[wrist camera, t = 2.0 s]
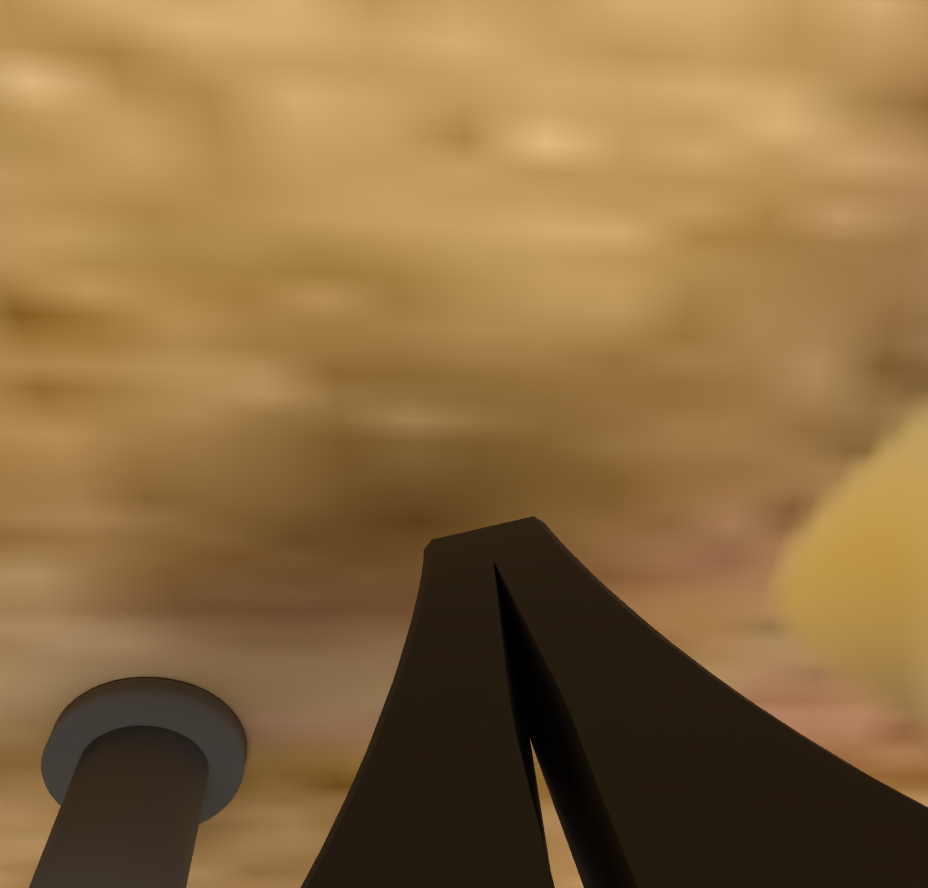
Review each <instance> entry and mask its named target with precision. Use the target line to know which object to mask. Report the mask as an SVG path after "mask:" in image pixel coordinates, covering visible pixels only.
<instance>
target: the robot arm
mask: <svg viewBox="0 0 928 888" xmlns="http://www.w3.org/2000/svg"><path fill="white" fill-rule="evenodd" d="M530 740H531V743H532V745H533V748H534V751H535V754H536V756H537V759H538V762H539V765H540V768H541V770H542V773H543V776H544V779H545V781H546V784H547V787H548V790H549V792H550V795H551V798H552V801H553V804H554V806H555V809H556V812H557V815H558V817H559V820H560V823H561V826H562V828H563V831H564V834H565V837H566V839H567V842H568V845H569V848H570V850H571V853H572V856H573V859H574V861H575V864H576V867H577V870H578V872H579V875H580V878H581V881H582V883H583V886H584V888H928V807H926V806H924V805H922V804H921V803H919V802H917V801H915V800H913V799H911V798H909V797H908V796H906V795H904V794H902V793H900V792H898V791H897V790H895V789H893V788H891V787H889V786H887V785H885V784H884V783H882V782H880V781H878V780H876V779H874V778H872V777H871V776H869V775H867V774H866V773H864V772H862V771H860V770H859V769H857V768H856V767H854V766H852V765H851V764H849V763H847V762H846V761H844V760H842V759H841V758H839V757H837V756H836V755H834V754H832V753H831V752H829V751H828V750H826V749H824V748H823V747H821V746H819V745H818V744H816V743H814V742H813V741H811V740H809V739H808V738H806V737H805V736H803V735H801V734H800V733H798V732H797V731H795V730H794V729H792V728H791V727H789V726H788V725H786V724H784V723H783V722H781V721H780V720H778V719H777V718H775V717H774V716H772V715H771V714H769V713H768V712H766V711H765V710H763V709H762V708H760V707H758V706H757V705H755V704H754V703H753V702H751V701H750V700H748V699H747V698H745V697H744V696H742V695H741V694H740V693H738V692H737V691H735V690H734V689H732V688H731V687H730V686H728V685H727V684H726V683H724V682H723V681H721V680H720V679H719V678H717V677H716V676H714V675H713V674H712V673H710V672H709V671H708V670H706V669H705V668H704V667H702V666H701V665H700V664H699V663H697V662H696V661H695V660H693V659H692V658H691V657H689V656H688V655H687V654H685V653H684V652H683V651H682V650H680V649H679V648H678V647H676V646H675V645H674V644H672V643H671V642H670V641H669V640H668V639H666V638H665V637H664V636H663V635H661V634H660V633H659V632H658V631H656V630H655V629H654V628H653V627H652V626H650V625H649V624H648V623H647V622H646V621H644V620H643V619H642V618H641V617H640V616H639V615H638V614H636V613H635V612H634V611H633V610H632V609H631V608H630V607H628V606H627V605H626V604H625V603H624V602H623V601H621V600H620V599H619V598H618V597H617V596H616V595H615V594H613V593H612V592H611V591H610V590H609V589H608V588H607V587H606V586H605V585H604V584H603V583H601V582H600V581H599V580H598V579H597V578H596V577H595V576H594V575H593V574H592V573H591V572H590V571H589V570H588V569H587V568H586V567H585V566H584V565H583V564H582V563H581V562H580V561H579V560H578V559H577V558H576V557H575V556H574V555H573V554H572V553H571V552H570V551H569V550H568V549H567V548H566V547H565V546H564V545H563V544H562V543H561V542H560V541H559V539H558V538H557V537H556V536H555V535H554V534H553V533H552V532H551V530H550V529H549V528H548V527H547V526H546V524H545V523H544V522H542V521H541V520H539V519H537V518H536V517H534V516H533V517H529V518H524V519H520V520H516V521H511V522H507V523H503V524H498V525H494V526H490V527H485V528H481V529H477V530H472V531H468V532H464V533H459V534H455V535H451V536H446V537H442V538H438V539H433V540H431V541H430V543H429V544H428V545H427V547H426V548H425V550H424V561H423V569H422V576H421V581H420V587H419V591H418V596H417V600H416V604H415V609H414V613H413V617H412V621H411V624H410V628H409V631H408V634H407V638H406V641H405V644H404V648H403V651H402V654H401V658H400V661H399V664H398V668H397V671H396V674H395V677H394V680H393V683H392V686H391V688H390V691H389V694H388V696H387V699H386V701H385V704H384V707H383V709H382V712H381V715H380V717H379V720H378V723H377V725H376V728H375V731H374V733H373V736H372V738H371V741H370V744H369V746H368V749H367V751H366V754H365V756H364V758H363V761H362V763H361V765H360V767H359V770H358V772H357V774H356V777H355V779H354V781H353V784H352V786H351V788H350V790H349V792H348V795H347V797H346V799H345V801H344V803H343V805H342V807H341V809H340V812H339V814H338V816H337V818H336V820H335V822H334V824H333V826H332V828H331V830H330V832H329V834H328V837H327V839H326V841H325V843H324V845H323V847H322V849H321V851H320V853H319V854H318V856H317V858H316V860H315V862H314V864H313V866H312V868H311V869H310V871H309V873H308V875H307V877H306V879H305V881H304V882H303V884H302V886H301V888H555V887H554V883H553V879H552V875H551V871H550V864H549V858H548V851H547V845H546V839H545V832H544V826H543V819H542V813H541V807H540V800H539V794H538V788H537V781H536V775H535V768H534V762H533V756H532V749H531V743H530Z"/></svg>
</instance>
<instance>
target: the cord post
mask: <svg viewBox="0 0 928 888" xmlns="http://www.w3.org/2000/svg"><path fill="white" fill-rule="evenodd" d="M245 756H246V738H245V734H244V731H243V728H242V726H241V724H240V722H239V720H238V718H237V717H236V716H235V715H234V713H233V712H232V711H231V710H230V709H229V708H228V707H227V706H226V705H225V704H224V703H223V702H221V701H220V700H219V699H217V698H216V697H215V696H213V695H211V694H209V693H207V692H206V691H204V690H201V689H199V688H197V687H194V686H192V685H188V684H185V683H182V682H178V681H173V680H168V679H159V678H134V679H125V680H120V681H114V682H111V683H108V684H104V685H101V686H99V687H96V688H94V689H92V690H90V691H88V692H86V693H84V694H82V695H81V696H79V697H78V698H77V699H75V700H74V701H73V702H72V703H71V704H70V705H69V706H68V707H66V708H65V709H64V711H63V712H62V714H61V715H60V716H59V718H58V720H57V722H56V724H55V726H54V728H53V731H52V733H51V735H50V737H49V740H48V742H47V744H46V746H45V748H44V752H43V755H42V763H41V769H42V776H43V779H44V782H45V785H46V787H47V789H48V790H49V792H50V794H51V795H52V796H53V798H54V799H55V800H56V801H57V802H58V803H59V804H60V805H61V807H60V810H59V812H58V815H57V818H56V820H55V823H54V825H53V828H52V830H51V833H50V835H49V838H48V841H47V843H46V846H45V848H44V851H43V853H42V856H41V858H40V861H39V864H38V866H37V869H36V871H35V874H34V876H33V879H32V881H31V884H30V887H29V888H186V885H187V880H188V875H189V870H190V865H191V860H192V855H193V850H194V845H195V840H196V835H197V830H198V825H199V824H200V823H202V822H204V821H206V820H208V819H210V818H211V817H213V816H214V815H216V814H217V813H219V812H220V811H221V810H222V809H223V808H224V807H226V806H227V804H228V803H229V802H230V801H231V800H232V799H233V797H234V796H235V794H236V792H237V791H238V788H239V786H240V784H241V780H242V775H243V769H244V762H245Z"/></svg>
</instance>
